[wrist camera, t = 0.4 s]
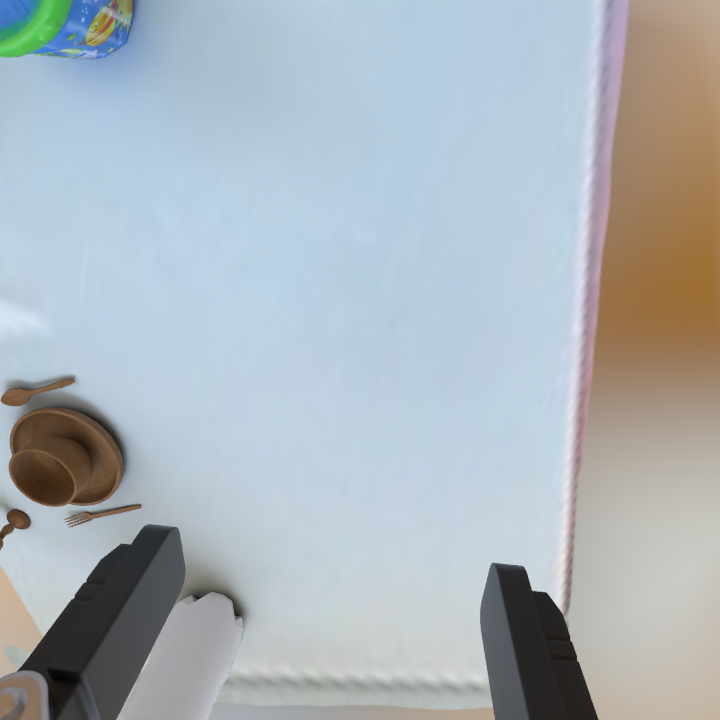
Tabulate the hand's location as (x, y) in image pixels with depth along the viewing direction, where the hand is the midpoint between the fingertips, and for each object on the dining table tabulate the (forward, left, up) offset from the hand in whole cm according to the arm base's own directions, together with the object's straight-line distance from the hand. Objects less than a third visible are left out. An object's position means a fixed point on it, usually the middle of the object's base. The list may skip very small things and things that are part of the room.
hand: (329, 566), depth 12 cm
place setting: (+23, -35, -29) cm, 51 cm away
